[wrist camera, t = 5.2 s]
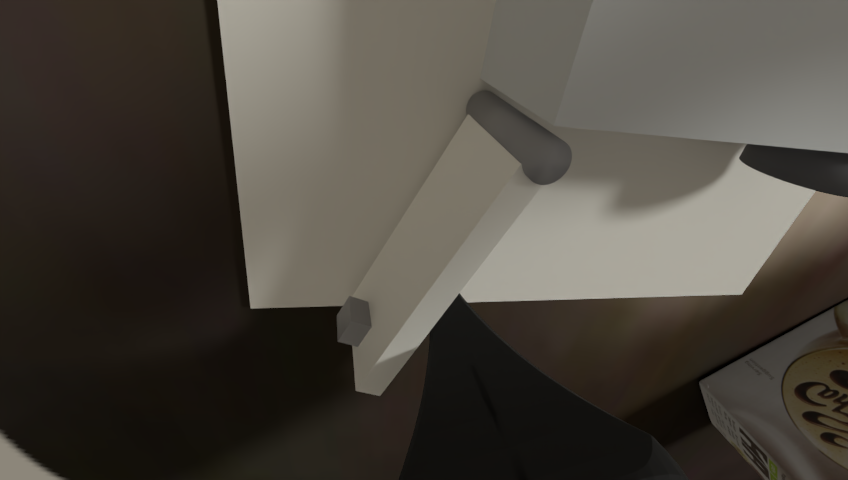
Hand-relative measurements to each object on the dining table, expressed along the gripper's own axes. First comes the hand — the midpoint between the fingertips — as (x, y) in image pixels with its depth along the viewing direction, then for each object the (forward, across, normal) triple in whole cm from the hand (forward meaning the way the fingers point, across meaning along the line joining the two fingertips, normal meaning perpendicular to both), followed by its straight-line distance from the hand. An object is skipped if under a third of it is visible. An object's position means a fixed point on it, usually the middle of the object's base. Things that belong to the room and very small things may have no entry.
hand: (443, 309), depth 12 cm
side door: (+1, 0, -3) cm, 3 cm away
